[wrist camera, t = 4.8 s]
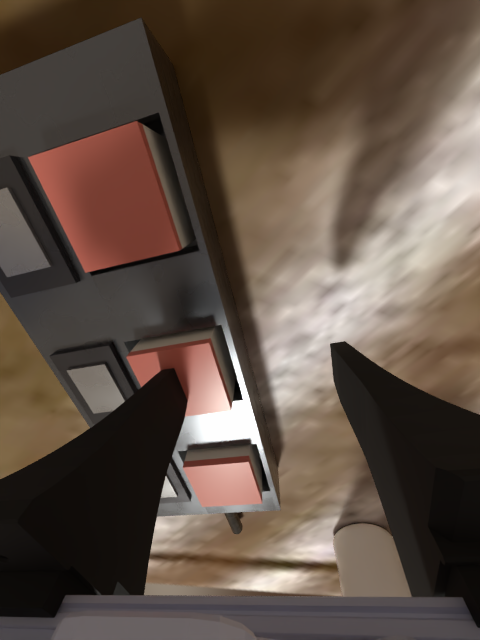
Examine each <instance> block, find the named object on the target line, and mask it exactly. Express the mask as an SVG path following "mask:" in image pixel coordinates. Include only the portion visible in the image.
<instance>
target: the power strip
mask: <svg viewBox="0 0 480 640" xmlns="http://www.w3.org/2000/svg"><path fill="white" fill-rule="evenodd" d="M135 121H138V122H140V123H141V124H143V125H145V126H146V127H148V128H150V129H151V130H153V131H155V132H156V133H158V134H160V135H161V136H163V137H165V138H166V139H167V142H168V145H169V149H170V152H171V155H172V159H173V162H174V166H175V169H176V172H177V176H178V179H179V182H180V186H181V189H182V193H183V196H184V199H185V203H186V206H187V210H188V213H189V216H190V220H191V223H192V226H193V230H194V233H195V237H196V240H194V241H193V242H191V243H190V244H188V245H187V246H186V247H184V248H183V249H181V250H180V251H176V252H172V253H167V254H163V255H159V256H155V257H150V258H146V259H142V260H138V261H133V262H129V263H125V264H121V265H116V266H112V267H108V268H104V269H99V270H95V271H91V272H87V273H85V271H84V269H83V267H82V265H81V263H80V261H79V259H78V257H77V255H76V253H75V251H74V249H73V247H72V245H71V243H70V241H69V239H68V237H67V235H66V233H65V231H64V229H63V227H62V225H61V223H60V221H59V219H58V217H57V215H56V213H55V211H54V209H53V207H52V205H51V203H50V201H49V199H48V197H47V195H46V193H45V191H44V189H43V187H42V185H41V183H40V181H39V179H38V177H37V175H36V173H35V171H34V169H33V167H32V165H31V163H30V161H29V159H28V157H30V156H33V155H36V154H39V153H42V152H45V151H48V150H51V149H54V148H57V147H60V146H63V145H66V144H69V143H72V142H75V141H78V140H81V139H84V138H87V137H90V136H93V135H96V134H99V133H102V132H105V131H108V130H111V129H114V128H117V127H120V126H123V125H126V124H129V123H132V122H135ZM0 292H1V294H2V295H3V297H4V298H5V300H6V301H7V303H8V304H9V306H10V308H11V309H12V311H13V312H14V314H15V315H16V317H17V318H18V320H19V321H20V323H21V324H22V326H23V327H24V329H25V330H26V332H27V333H28V335H29V336H30V338H31V339H32V341H33V342H34V344H35V345H36V347H37V348H38V350H39V351H40V353H41V354H42V356H43V357H44V359H45V360H46V362H47V363H48V365H49V366H50V368H51V369H52V371H53V372H54V374H55V375H56V377H57V378H58V380H59V381H60V383H61V384H62V386H63V387H64V389H65V390H66V392H67V393H68V395H69V396H70V398H71V399H72V401H73V402H74V404H75V406H76V407H77V409H78V410H79V412H80V413H81V415H82V416H83V418H84V419H85V421H86V422H87V424H88V425H89V427H90V428H91V427H93V426H94V425H95V424H97V423H98V422H100V421H101V420H102V419H104V418H105V417H106V416H108V415H109V414H110V413H111V412H113V411H114V410H115V409H116V408H117V407H119V406H120V405H121V404H122V403H124V402H125V401H126V400H127V399H128V398H130V397H131V396H132V395H133V394H134V393H135V392H136V391H138V390H139V389H140V388H141V386H140V384H139V382H138V380H137V378H136V376H135V374H134V372H133V370H132V368H131V366H130V364H129V362H128V360H127V358H126V356H127V355H128V354H129V353H130V352H131V350H132V349H133V348H134V347H135V346H136V344H137V343H138V342H139V341H140V340H141V339H144V338H150V337H155V336H161V335H166V334H172V333H178V332H183V331H189V330H194V329H200V328H206V327H211V326H217V325H222V329H223V332H224V335H225V339H226V342H227V345H228V349H229V352H230V356H231V359H232V362H233V366H234V369H235V373H236V381H235V389H234V396H233V403H232V411H227V412H218V413H210V414H202V415H193V416H185V419H184V422H183V425H182V429H181V432H180V435H179V438H178V440H177V443H176V446H175V449H174V452H173V455H172V458H171V461H170V464H169V467H168V470H167V474H166V477H165V481H164V486H163V490H162V494H161V498H160V503H159V508H158V513H157V516H175V515H195V514H214V513H225V516H226V518H227V520H228V522H229V525H230V527H231V529H232V531H233V533H234V534H239V533H240V532H241V531H242V523H241V521H240V518H239V516H238V514H237V512H253V511H272V510H281V509H280V493H279V477H278V467H277V463H276V459H275V455H274V451H273V448H272V444H271V440H270V436H269V432H268V428H267V424H266V421H265V417H264V413H263V409H262V405H261V401H260V398H259V394H258V390H257V386H256V382H255V378H254V374H253V371H252V367H251V363H250V359H249V355H248V351H247V348H246V344H245V340H244V336H243V332H242V328H241V324H240V321H239V317H238V313H237V309H236V305H235V301H234V298H233V294H232V290H231V286H230V282H229V278H228V274H227V271H226V267H225V263H224V259H223V255H222V251H221V248H220V244H219V240H218V236H217V232H216V228H215V224H214V221H213V217H212V213H211V209H210V205H209V201H208V198H207V194H206V190H205V186H204V182H203V178H202V174H201V171H200V167H199V163H198V159H197V155H196V151H195V148H194V144H193V140H192V136H191V132H190V128H189V125H188V121H187V117H186V113H185V109H184V105H183V101H182V98H181V94H180V90H179V86H178V82H177V78H176V75H175V71H174V67H173V64H172V62H171V61H170V59H169V58H168V57H167V55H166V54H165V52H164V51H163V49H162V48H161V46H160V45H159V43H158V42H157V40H156V39H155V37H154V36H153V34H152V33H151V31H150V30H149V28H148V27H147V25H146V24H145V22H144V21H143V20H142V18H139V19H136V20H134V21H132V22H129V23H127V24H124V25H122V26H119V27H117V28H114V29H112V30H109V31H107V32H105V33H102V34H100V35H97V36H95V37H92V38H90V39H87V40H85V41H82V42H80V43H78V44H75V45H73V46H70V47H68V48H65V49H63V50H60V51H58V52H55V53H53V54H50V55H48V56H46V57H43V58H41V59H38V60H36V61H33V62H31V63H28V64H26V65H23V66H21V67H19V68H16V69H14V70H11V71H9V72H6V73H4V74H1V75H0ZM249 444H257V447H258V450H259V453H260V457H261V460H262V504H247V505H229V506H212V507H202V506H201V504H200V502H199V500H198V498H197V496H196V494H195V492H194V490H193V488H192V486H191V484H190V482H189V480H188V478H187V476H186V474H185V472H184V470H183V464H184V461H185V457H186V454H187V450H197V449H207V448H217V447H228V446H238V445H249Z"/></svg>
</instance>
